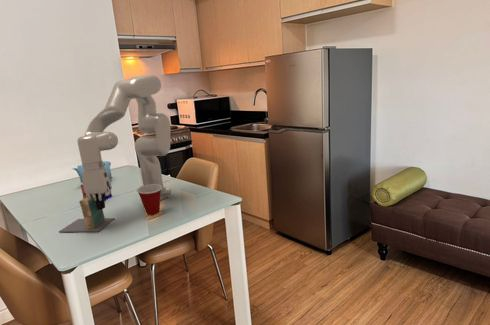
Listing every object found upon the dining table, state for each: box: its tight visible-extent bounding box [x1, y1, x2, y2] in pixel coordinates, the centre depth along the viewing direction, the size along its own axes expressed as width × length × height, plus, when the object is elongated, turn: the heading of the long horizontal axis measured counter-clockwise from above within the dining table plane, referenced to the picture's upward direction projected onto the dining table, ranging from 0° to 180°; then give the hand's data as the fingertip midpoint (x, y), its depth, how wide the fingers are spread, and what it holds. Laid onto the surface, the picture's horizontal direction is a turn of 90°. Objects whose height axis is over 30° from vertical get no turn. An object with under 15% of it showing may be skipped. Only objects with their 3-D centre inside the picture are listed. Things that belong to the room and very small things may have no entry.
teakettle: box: [72, 160, 113, 184], centre depth 213 cm, size 19×19×15 cm
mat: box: [58, 217, 116, 234], centre depth 147 cm, size 18×13×1 cm
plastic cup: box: [136, 184, 162, 216], centre depth 154 cm, size 11×11×12 cm
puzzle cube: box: [80, 183, 113, 202], centre depth 181 cm, size 10×10×10 cm
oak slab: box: [79, 196, 106, 228], centre depth 145 cm, size 4×8×12 cm, turn 170°
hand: (101, 208), depth 144 cm, fingers closed
